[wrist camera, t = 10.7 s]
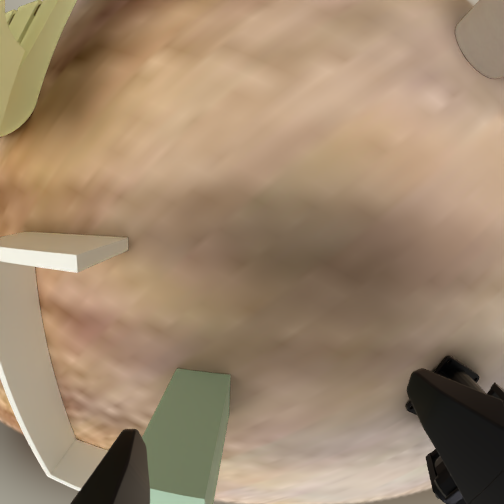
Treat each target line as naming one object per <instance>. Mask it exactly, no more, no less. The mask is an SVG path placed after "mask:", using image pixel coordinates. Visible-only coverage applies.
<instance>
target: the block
mask: <svg viewBox="0 0 504 504" xmlns="http://www.w3.org/2000/svg"><path fill="white" fill-rule="evenodd" d="M229 404H230V375H228V374H219V373H210V372H201V371H193V370H186V369H179V368H177V369H176V371H175V373H174V375H173V377H172V379H171V381H170V383H169V385H168V387H167V389H166V391H165V393H164V395H163V397H162V399H161V401H160V403H159V405H158V407H157V409H156V411H155V413H154V415H153V417H152V419H151V421H150V423H149V425H148V427H147V429H146V431H145V433H144V435H143V437H142V439H143V441H144V442H145V445H146V449H147V460H148V472H149V483H150V504H213V502H214V496H215V491H216V485H217V480H218V474H219V469H220V463H221V458H222V452H223V446H224V441H225V435H226V430H227V424H228V418H229Z"/></svg>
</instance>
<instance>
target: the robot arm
mask: <svg viewBox="0 0 504 504" xmlns="http://www.w3.org/2000/svg"><path fill="white" fill-rule="evenodd" d="M448 361H449V362H448ZM447 362H448V363H447ZM478 380H479V376H478V375H477V374H476V373H475V372H473V371H472V370H470V369H469V368H467V367H466V366H464V365H463V364H461V363H460V362H459V361H457V360H456V359H454V358H453V357H451V356H447V357H446V358H445V359H444V360H443V361H442V363H441V364H440V365H439V367H438V368H437V369H436V370H435V372H434V373H433V372H431V371H428V370H426V369H423V368H422V369H419V370H416V371H414V372H413V373H412V374H411V377H410V380H409V383H408V386H407V394H408V396H409V398H410V401H409V402H408V403H407V405H406V409H407V411H409V412H411V413H414V414H416V415H418V418H419V420H420V422H421V424H422V426H423V428H424V430H425V431H426V433H427V435H428V436H429V438H430V440H431V442H432V443H433V445H434V447H435V448H436V449H435V450H434V451H433V452H432V453H429V454H428V455H427V456H426V461H427V467H428V471H429V475H430V480H431V484H432V489H433V492H434V493H435V495H436V497H437V498H438V499H441V500H442V501H443V502H444V503H446V504H504V390H503V389H502V388H501V387H500V386H498V385H497V384H496V383H494V384H493V385H492V386H491V389H490V390H489V392H488V393H487V394H486V393H485V392H484V391H483V390H482V389H481V388H480V386H479V385H478V384H477V381H478ZM71 504H150V483H149V472H148V460H147V449H146V445H145V442H144V441H143V439H142V437H141V435H140V434H139V432H138V430H136V429H124V430H123V431H122V432H121V434H120V435H119V436H118V438H117V439H116V441H115V442H114V443H113V445H112V446H111V448H110V449H109V450H108V452H107V453H106V455H105V456H104V457H103V459H102V460H101V462H100V463H99V464H98V466H97V467H96V469H95V470H94V471H93V473H92V474H91V476H90V477H89V478H88V480H87V481H86V483H85V484H84V485H83V487H82V488H81V490H80V491H79V493H78V494H77V495H76V497H75V498H74V499H73V501H72V502H71Z"/></svg>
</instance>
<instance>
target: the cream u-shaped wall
mask: <svg viewBox="0 0 504 504" xmlns="http://www.w3.org/2000/svg"><path fill="white" fill-rule="evenodd" d="M126 251H128V237H112V236H95V235H78V234H61V233H44V232H21V233H17V234H12V235H7V236H3V237H0V379H1V381H2V384H3V387H4V389H5V392H6V395H7V397H8V400H9V402H10V405H11V407H12V409H13V412H14V414H15V416H16V418H17V421H18V423H19V425H20V427H21V429H22V431H23V433H24V435H25V437H26V439H27V441H28V443H29V445H30V447H31V449H32V451H33V453H34V454H35V456H36V458H37V460H38V461H39V463H40V465H41V467H42V468H43V470H44V472H45V473H46V475H47V476H48V477H50V478H52V479H54V480H56V481H58V482H60V483H62V484H64V485H66V486H68V487H71V488H73V489H75V490H78V491H80V490H81V488H82V487H83V485H84V484H85V483H86V481H87V480H88V478H89V477H90V476H91V474H92V473H93V471H94V470H95V469H96V467H97V466H98V464H99V463H100V462H101V460H102V459H103V457H104V456H105V455H106V453H107V452H108V450H105V449H102V448H99V447H96V446H94V445H91V444H88V443H85V442H82V441H80V440H77V439H76V437H75V435H74V432H73V430H72V427H71V424H70V422H69V419H68V416H67V413H66V410H65V407H64V404H63V401H62V398H61V395H60V392H59V389H58V385H57V382H56V378H55V375H54V371H53V367H52V363H51V359H50V355H49V351H48V347H47V342H46V337H45V332H44V327H43V322H42V316H41V310H40V304H39V297H38V290H37V281H36V272H35V267H41V268H48V269H55V270H62V271H69V272H77V273H78V272H80V271H82V270H85V269H87V268H89V267H91V266H94V265H96V264H98V263H100V262H103V261H105V260H107V259H110V258H112V257H114V256H117V255H119V254H121V253H124V252H126Z"/></svg>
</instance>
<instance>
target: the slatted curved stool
mask: <svg viewBox="0 0 504 504" xmlns="http://www.w3.org/2000/svg"><path fill="white" fill-rule="evenodd" d="M76 2H77V0H43V2H42V1H41V0H36V1H34V2H31V3H28V4H26V5H23V6H21V7H19V8H18V10H17V11H16V10H11V11H9V12H7V13H5V0H0V137H2V136H5V135H7V134H9V133H12V132H13V131H15V130H16V129H18V128H19V127H20V126H21V125H22V124H23V123H25V121H26V120H27V119H28V118H29V117H30V115H31V114H32V112H33V110H34V108H35V106H36V103H37V100H38V96H39V93H40V89H41V86H42V83H43V80H44V77H45V74H46V71H47V68H48V66H49V63H50V60H51V57H52V55H53V52H54V50H55V47H56V45H57V42H58V40H59V38H60V35H61V33H62V31H63V28H64V26H65V24H66V22H67V20H68V18H69V16H70V14H71V12H72V10H73V8H74V6H75V4H76Z"/></svg>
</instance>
